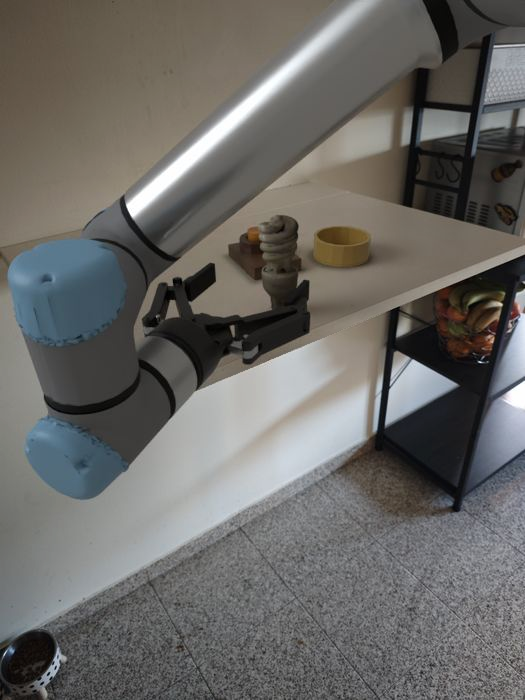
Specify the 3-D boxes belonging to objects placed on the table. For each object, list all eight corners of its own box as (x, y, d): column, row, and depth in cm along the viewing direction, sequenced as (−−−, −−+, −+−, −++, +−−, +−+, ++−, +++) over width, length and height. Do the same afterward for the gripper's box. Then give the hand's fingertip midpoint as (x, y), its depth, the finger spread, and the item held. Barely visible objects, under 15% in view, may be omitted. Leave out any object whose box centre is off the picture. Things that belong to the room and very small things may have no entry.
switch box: (301, 269, 88) (301, 248, 86) (254, 280, 85) (254, 258, 83) (271, 247, 97) (271, 227, 95) (228, 255, 94) (227, 235, 92)
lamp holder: (379, 260, 91) (382, 239, 89) (331, 271, 87) (332, 250, 85) (348, 242, 98) (350, 222, 96) (303, 251, 95) (303, 231, 93)
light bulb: (265, 324, 73) (263, 224, 64) (255, 307, 77) (253, 211, 69) (302, 318, 74) (304, 219, 65) (290, 302, 78) (291, 207, 70)
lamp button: (270, 240, 90) (270, 231, 89) (252, 244, 89) (252, 234, 88) (262, 234, 93) (262, 225, 92) (244, 237, 92) (244, 228, 91)
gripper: (79, 367, 56) (180, 289, 72) (282, 428, 47) (347, 323, 63) (63, 309, 52) (175, 240, 68) (283, 364, 43) (352, 269, 59)
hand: (258, 280), depth 66 cm, fingers open, 13 cm apart
